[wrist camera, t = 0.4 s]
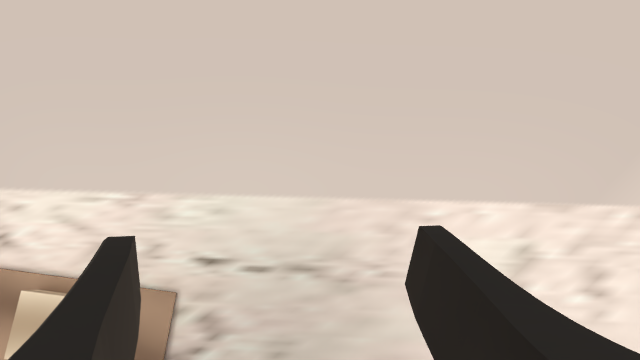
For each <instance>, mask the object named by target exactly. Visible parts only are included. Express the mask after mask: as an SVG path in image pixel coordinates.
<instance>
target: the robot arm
mask: <svg viewBox="0 0 640 360" xmlns="http://www.w3.org/2000/svg"><path fill="white" fill-rule="evenodd" d="M405 286H406V289H407V293H408V296H409V300H410V303H411V307H412V310H413V313H414V316H415V319H416V321H417V323H418V326H419V328H420V330H421V332H422V334H423V337H424V339H425V341H426V343H427V346H428V348H429V350H430V352H431V354H432V356H433V358H434V360H640V354H639V353H637V352H634V351H632V350H630V349H628V348H626V347H623V346H621V345H619V344H617V343H615V342H613V341H611V340H609V339H607V338H605V337H603V336H601V335H599V334H597V333H595V332H593V331H591V330H589V329H587V328H585V327H584V326H582V325H580V324H578V323H576V322H574V321H573V320H571V319H569V318H568V317H566V316H564V315H563V314H561V313H559V312H558V311H556V310H554V309H553V308H551V307H549V306H548V305H546V304H545V303H543V302H541V301H540V300H538V299H537V298H535V297H534V296H532V295H531V294H530V293H528V292H527V291H525V290H524V289H522V288H521V287H520V286H518V285H517V284H515V283H514V282H513V281H511V280H510V279H509V278H507V277H506V276H504V275H503V274H502V273H501V272H499V271H498V270H497V269H495V268H494V267H493V266H491V265H490V264H489V263H488V262H486V261H485V260H484V259H483V258H481V257H480V256H479V255H478V254H476V253H475V252H474V251H473V250H471V249H470V248H469V247H468V246H466V245H465V244H464V243H463V242H461V241H460V240H459V239H458V238H456V237H455V236H454V235H453V234H451V233H450V232H449V231H447V230H446V229H445V228H443V227H442V226H419V229H418V233H417V237H416V241H415V245H414V249H413V253H412V257H411V261H410V265H409V269H408V273H407V277H406V282H405ZM140 310H141V292H140V282H139V272H138V262H137V252H136V242H135V236H122V237H107V238H106V239H105V240H104V241H103V242H102V244H101V246H100V247H99V249H98V250H97V252H96V254H95V255H94V257H93V258H92V260H91V261H90V263H89V264H88V266H87V267H86V268H85V270H84V271H83V273H82V274H81V276H80V277H79V278H78V280H77V281H76V282H75V284H74V285H73V286H72V288H71V289H70V290H69V292H68V293H67V294H66V296H65V297H64V298H63V299H62V301H61V302H60V303H59V304H58V306H57V307H56V308H55V309H54V310H53V311H52V313H51V314H50V315H49V316H48V317H47V318H46V320H45V321H44V322H43V323H42V324H41V325H40V327H39V328H38V329H37V330H36V331H35V332H34V333H33V334H32V335H31V336H30V338H29V339H28V340H27V341H26V342H25V343H24V344H23V345H22V346H21V347H20V348H19V349H18V350H17V351H16V352H15V353H14V354H13V355H12V356H11V357H10V358H9V359H8V360H134V358H135V353H136V347H137V342H138V336H139V324H140Z"/></svg>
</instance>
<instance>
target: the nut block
mask: <svg viewBox="0 0 640 360" xmlns="http://www.w3.org/2000/svg"><path fill="white" fill-rule="evenodd" d="M66 294H67V293H60V292H53V291H45V290H24V291H21V293H20V297H19V301H18V305H17V309H16V313H15V317H14V321H13V325H12V329H11V333H10V337H9V341H8V344H7V348H6V352H5V356H4V359H9V358H10V357H11V356H12V355H13V354H14V353H15V352H16V351H17V350H18V349H19V348H20V347H21V346H22V345H23V344H24V343H25V342H26V341H27V340H28V339H29V338H30V336H31V335H32V334H33V333H34V332H35V331H36V330H37V329H38V328H39V327H40V325H41V324H42V323H43V322H44V321H45V320H46V318H47V317H48V316H49V315H50V314H51V313H52V311H53V310H54V309H55V308H56V307H57V306H58V304H59V303H60V302H61V301H62V299H63V298H64V297H65V296H66Z"/></svg>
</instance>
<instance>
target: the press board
mask: <svg viewBox="0 0 640 360" xmlns="http://www.w3.org/2000/svg"><path fill="white" fill-rule="evenodd" d="M77 280H78V279H73V278H65V277H58V276H51V275H43V274H36V273H29V272H21V271H14V270H7V269H0V360H8V359H4V356H5V352H6V348H7V344H8V341H9V337H10V333H11V329H12V325H13V321H14V317H15V313H16V309H17V305H18V301H19V297H20V293H21V291H24V290H45V291H53V292H60V293H68V292H69V290H70V289H71V288H72V286H73V285H74V284H75V282H76V281H77ZM140 292H141V310H140V324H139V336H138V342H137V347H136V353H135V358H134V360H164V355H165V350H166V345H167V339H168V334H169V329H170V324H171V319H172V313H173V308H174V303H175V298H176V293H175V292H168V291H161V290H153V289H146V288H140Z"/></svg>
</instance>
